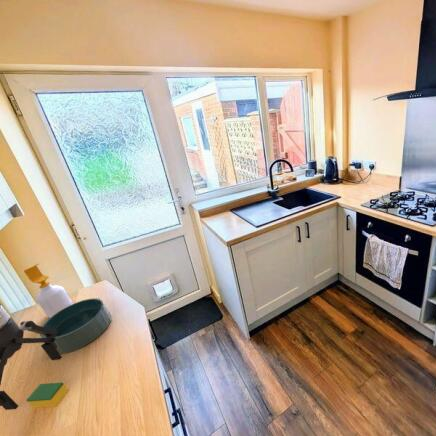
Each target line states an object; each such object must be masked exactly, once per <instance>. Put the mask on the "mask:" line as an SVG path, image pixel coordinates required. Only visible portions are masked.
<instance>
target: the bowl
mask: <svg viewBox="0 0 436 436" xmlns="http://www.w3.org/2000/svg"><path fill="white" fill-rule="evenodd" d="M111 321H112V315H111V314H110V312H109V310H108V308H107V305H105V303H104V301H103V300H102V299H100V298H95V297H94V298H87V299H82V300H80V301H77V302H73V304H72V305H70V306H68V307H66V308H64V309H62V310H60V311H59V312H57V313H56V314H54V315H53V316H52V317H51V318H49V317H48V319H47V320H46V321H45V322H44V323H43V324H42V325H41V326H42V327H45V328H48V329H51V330H54V331H57V335H55V336H54V337H55V338H56V340H55V341H54V342H55V344H56V345H57V348H56V349H57V351H58V352H59V354H67V353H71V352H74V351H77V350H78V349H80V348H83V347H85V346H86V345H88V344H90V343H92V342H93V341H94V340H96V339H97V338H98V337H100V336H101V334H103V333H104V332H105V331H106V329H108V327H109V325H110V324H111ZM45 337H46V336H45V335H42V334H39V338H45Z"/></svg>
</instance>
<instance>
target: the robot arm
mask: <svg viewBox="0 0 436 436" xmlns="http://www.w3.org/2000/svg"><path fill="white" fill-rule="evenodd" d="M19 325H20V326H19ZM19 325H18V323H16V320H14V318H12V317H11V315H10V314H9V313H8V312H7V310H6V309H5V308H4V306H3V305H2V304H1V303H0V387H1V385H2V381H3V375H4V371H5V366H6V365H7V364H8V359H11V358H12V357H13V356H14V355H15V353H16V352H18V351H20V350H21V349H22V346H23V345H24V344H41V345H40V347H41V348H42V350H43V351H44V353H46V355H47V356H48V357H49V359H50V360H51V361H60V360H62V359H63V356H62V355H61V353H59V352H58V351H57V349H56V348H57V345H56V344H55V342H54V341H55V340H56V338H55V337H54V336H55V335H57V331H54V330H51V329H48V328H45V327H42V326H43V325H38V324H36V323H35V322H34V321H33V320H24V321H21V322H20V324H19ZM26 331H28V332H32V333H34V334H39V335H40V334H42V335H45V336H46V337H45V338H41V337H24V334H25V332H26ZM0 407H2V408H3V409H4V410H5V411H10V410H17V409H18V407H19V405H18V403H16V402H15V400H13V398H12V397H10V395H9V394H8V393H7V392H6V391H5V390H0Z"/></svg>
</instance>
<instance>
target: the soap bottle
mask: <svg viewBox="0 0 436 436" xmlns="http://www.w3.org/2000/svg"><path fill="white" fill-rule="evenodd" d="M40 264H41V263H40V262H39V263H36V264H33V265H32V266H30V267H28V268H25V269H23V272H24V273H25V274H24V275H26V277H27V278H28V280H29V281H30V282H31V283H35V284H38V285H39V286H38V287H39V289H40V290H41V291H40V292H39V293H38V294H37V296H36V298H35V299H36V302H37V303H38V305H39V306H40V308H41V309H42V311H43V312H44V314H45V315H46V316H47V317H48V319H49V318H51V317H52V316H53V315H54V314H56V313H57V312H59V311H60V310H62V309H64V308H66V307H68V306H70V305H72V304H74V302H73V300H72V298H71V297H70V296H69V294H68V292H67V291H66V289H65V288H64V287H63V286H62V285H52V284H51V283H50V281H47V280H48V279H49V278H50V276H49V275H44V274H43V273H42V272H41V270H40V269H39V267H38V265H40Z"/></svg>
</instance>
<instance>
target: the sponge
mask: <svg viewBox="0 0 436 436" xmlns="http://www.w3.org/2000/svg"><path fill="white" fill-rule="evenodd" d="M68 392H69V388H68V387H67V386H66V385H65V383H64V382H63V381H60V382H49V383H48V382H47V383H40V384H39V385H38V386H37V387H36V388H35V389H34V390H33V392H32V393H31V394H30V395H29V396H28V397H27V398H26V399H25V400H26V402H27V403H28V404H29V405H30V407H32V409H40V408H42V409H43V408H54V407H55V408H56V407H58V405H59V404H60V403H61V401H62V400H63V399H64V397H65V396H66V395H67V394H68Z"/></svg>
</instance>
